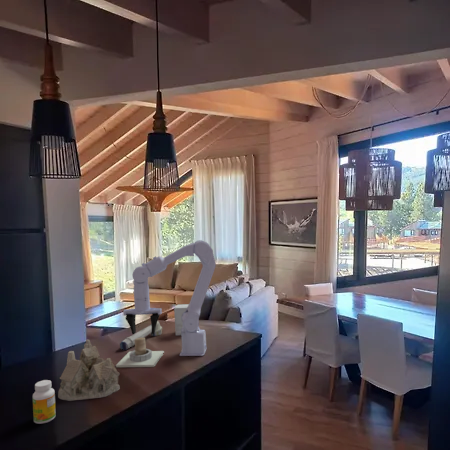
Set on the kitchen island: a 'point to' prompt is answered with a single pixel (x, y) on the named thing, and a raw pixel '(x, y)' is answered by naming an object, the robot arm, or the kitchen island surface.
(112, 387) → the ceramic cottage
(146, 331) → the white handheld device
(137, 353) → the maple peg
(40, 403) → the supplement bottle
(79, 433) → the kitchen island surface
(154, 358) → the collar plate
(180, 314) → the supplement box
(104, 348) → the kitchen island surface
